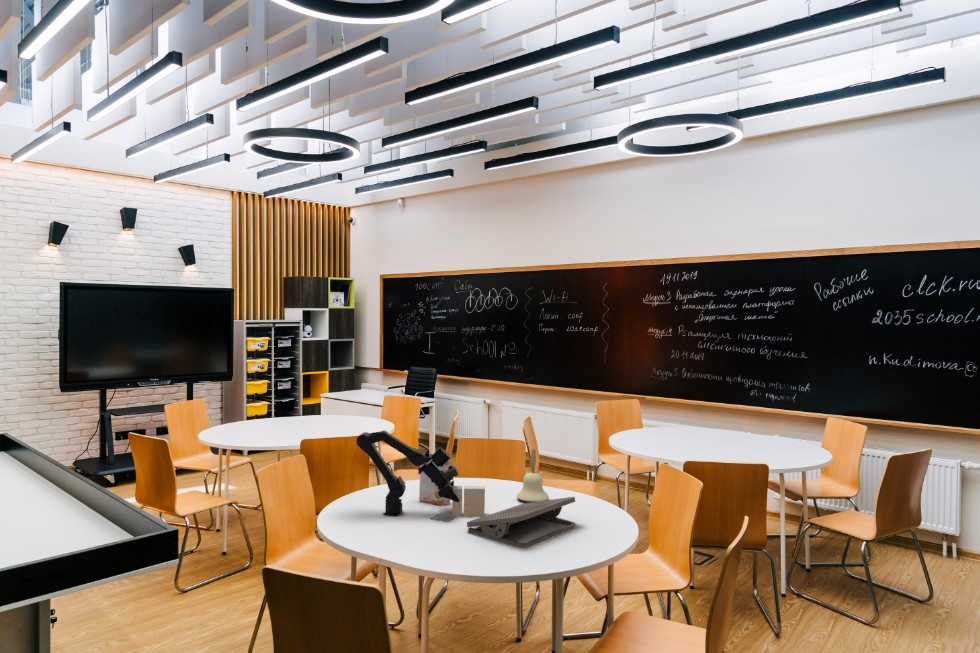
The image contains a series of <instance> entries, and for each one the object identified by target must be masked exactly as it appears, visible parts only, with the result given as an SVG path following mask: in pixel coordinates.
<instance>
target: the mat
mask: <svg viewBox="0 0 980 653" xmlns="http://www.w3.org/2000/svg"><path fill="white" fill-rule="evenodd" d="M455 518H457V516H452V514H451V515H449V514H444V513H436V514H434V515H433V516H431V517H430V518H429V520H433V519H436V520H435V521H440V520H441V521H443V522H449V523H450V522H451V521H452V520H454V519H455Z"/></svg>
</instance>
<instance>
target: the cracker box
mask: <svg viewBox="0 0 980 653" xmlns="http://www.w3.org/2000/svg"><path fill="white" fill-rule="evenodd" d="M431 460H432V459H431ZM431 460H430V461H431ZM451 460H452V458H450V459H449V460H448V461H447V462H446V463H445V464H444V465H443V466H442V467H441V466H440V467H438V466H436V465H435V464H434V463H433V462H432V463H433V464H434V465H435V466H436V467H437V468H438V469H439V470H443V471H444V472H445V471H447V470H448V467H449V466H451V465H452V464H451ZM430 461H429V462H430ZM429 462H427V463H429ZM424 464H425V463H424ZM424 464H423V465H424ZM423 465H421V466H419V467H422V466H423ZM438 491H439V489H438V487H437V486H436V485H435V484H434V483H432V482H431V480H430V479H429V478H428V476H427V475H426V474H425V473H424V472H423V471H422V472H421V473H420V474H419V498H418V499H419V502H421V501H422V503H426V502H427V503H426V504H431V503H432V505H436V504H437V506H441V505H442V506H443V507H444V506H446V505H449V504H451V500H450V499H448V498H445V497H442V498H441V497H440V496H439V495H438Z"/></svg>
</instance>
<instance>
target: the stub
mask: <svg viewBox="0 0 980 653" xmlns="http://www.w3.org/2000/svg"><path fill="white" fill-rule="evenodd" d="M453 492H454V493H455V494H456V496H457V497H458V499H459V500H460V501H459V502H455V501H453V500H451V501H452V508H451V509H452V510H451V511H452V512H451V516H456V517H462V514H463V513H462V512H463V485H454V486H453Z"/></svg>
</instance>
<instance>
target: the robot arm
mask: <svg viewBox="0 0 980 653" xmlns="http://www.w3.org/2000/svg"><path fill="white" fill-rule="evenodd" d="M379 442H382V443H385V444H386V445H388V446H390V447H392V449H394V450H396V451H397V452H399V453H401V454H403V456H405V457H406V458H407V459H408V460H409V462H410V463H411V464H413V465H414V466H416V467H417V470H418V472H417V474H418V475H420V473H421V472H422V471H423V472H424V473H425V474H426V475H427V476H428V478H429V479H430V480H431V482H432V483H434V484H435V485H436V486H437V487H438V489H439V491H438V495H439V496H440V497H441V498H442V497H445V498H448V499H450V501H452V500H453V501H455V502H459V501H460V500H459V499H458V497H457V496H456V494H455V493H454V492H453V486H455V479H454V477H458V476H459V471H458V469H457V467H456V466H453V465H452V464H451V466H449V467H448V470H447V471H445V472H444V471H443V470H439V469H438V468H437V467H436V466H438V467H440V466H441V467H442V466H443V465H444V464H445V463H446V462H447V461H448V460H449V459H452V456H451V455H450V453H449V452H448V451H447V450H445V449H443V448H442V447H441V446H440V447H438V448H437V450H436V451H435V452H433V454H432V453H426V452H425V451H423V450H421V449H419V448H416V447H412V446H409V445H408V444H406V443H405V442H404V441H402V440H400V439H398V438H397V437H395V436H394V435H393V434H390V433H389V432H388V431H387V430H384V429H383V430H381V431H374V432H370V433H369V432H365V431H364V432H361V434H359V435H358V436H357V438H356V446H357V447H358V448H359V449H361V450H362V452H364V453H366V454H367V455H368V456H369V458H370V460H371V461H372V463H373V464H374V465H375V467H376V469H378V471H379V472H380V474H381V475H382V477H383V479H384V480H385V482H386V485H387V489H388V490H389V491H388V493H387V494H386V496H385V508H384V510H385V512H383V515H384V516H390V517H391V516H393V517H397V516H399V515H401V514H403V513H404V511H403V502H402V500H403V499H402V497H403V496H404V494H405V492H406V488H407V486H406V481H404V480H403V478H402V476H401V475H398V476H396V475H395V474H394V473H393V471H392V469H391V467H389V465H388V463H387V462H386V461H385V458H383V456H382V455H381V453H380V452H379V450H378V449H377V447H376V443H379ZM431 459H432V460H431ZM430 460H431V461H430ZM429 461H430V462H429ZM427 462H429V463H427ZM432 462H433V463H434V464H435V465H436V466H435V465H434V464H433V463H432ZM424 463H425V464H424ZM423 464H424V465H423ZM421 465H423V466H422V467H420V466H421Z"/></svg>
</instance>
